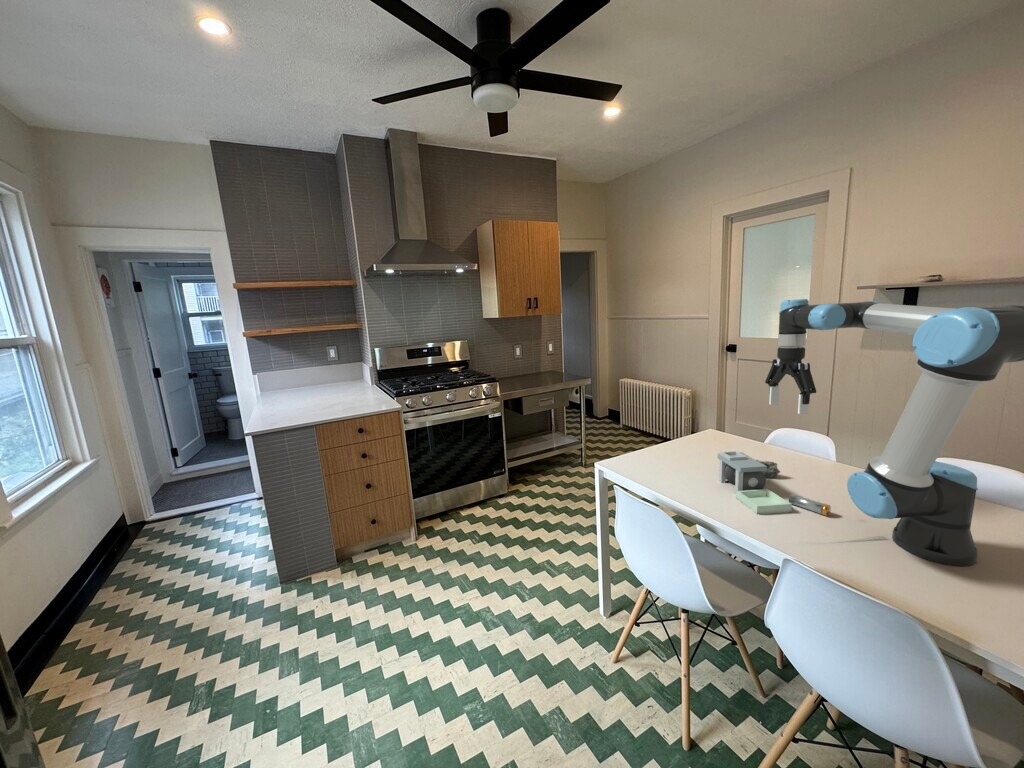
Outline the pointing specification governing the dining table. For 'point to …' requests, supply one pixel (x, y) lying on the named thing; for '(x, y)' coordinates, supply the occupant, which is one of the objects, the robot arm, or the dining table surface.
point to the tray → (763, 501)
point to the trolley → (741, 471)
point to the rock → (770, 469)
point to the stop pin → (810, 504)
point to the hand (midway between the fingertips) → (787, 408)
